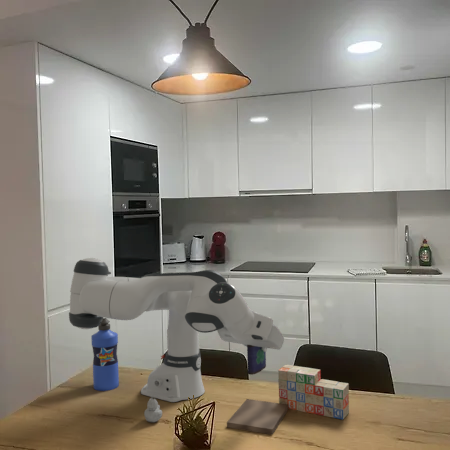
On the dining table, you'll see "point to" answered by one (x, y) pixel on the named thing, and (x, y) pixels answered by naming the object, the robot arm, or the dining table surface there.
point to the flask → (255, 359)
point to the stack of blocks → (312, 392)
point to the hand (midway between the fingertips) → (258, 348)
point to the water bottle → (105, 358)
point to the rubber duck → (153, 411)
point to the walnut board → (258, 416)
